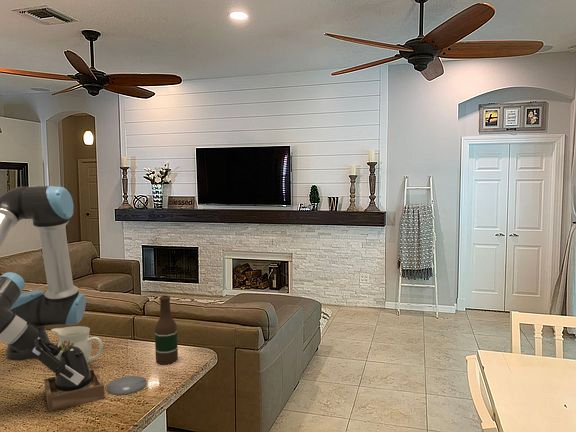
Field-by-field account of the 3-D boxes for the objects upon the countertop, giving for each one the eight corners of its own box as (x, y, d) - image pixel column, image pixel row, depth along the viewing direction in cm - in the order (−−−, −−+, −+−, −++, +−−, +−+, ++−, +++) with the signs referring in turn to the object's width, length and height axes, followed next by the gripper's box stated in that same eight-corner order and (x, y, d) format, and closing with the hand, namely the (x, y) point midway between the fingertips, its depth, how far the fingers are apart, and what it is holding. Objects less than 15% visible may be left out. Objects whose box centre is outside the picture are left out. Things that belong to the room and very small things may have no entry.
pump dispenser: (68, 406, 133) (66, 355, 132) (48, 397, 139) (45, 348, 138) (99, 392, 142) (97, 344, 141) (79, 384, 147) (76, 338, 146)
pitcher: (96, 374, 155) (94, 334, 154) (44, 373, 156) (42, 334, 155) (110, 361, 166) (108, 324, 165) (61, 361, 167) (59, 324, 166)
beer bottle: (182, 359, 168) (180, 294, 166) (168, 366, 160) (166, 300, 159) (165, 355, 171) (163, 292, 169) (151, 363, 164) (148, 297, 162)
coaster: (103, 383, 148) (103, 381, 148) (141, 375, 154) (141, 372, 154) (110, 398, 137) (110, 396, 137) (150, 388, 144) (150, 386, 144)
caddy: (44, 391, 143) (44, 379, 142) (96, 379, 151) (95, 368, 150) (48, 411, 130) (48, 398, 130) (104, 397, 138) (104, 385, 138)
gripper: (8, 332, 141) (64, 369, 150) (8, 359, 119) (73, 399, 128) (26, 313, 143) (81, 350, 152) (30, 335, 122) (93, 377, 131)
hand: (77, 372), depth 140 cm, fingers open, 13 cm apart
